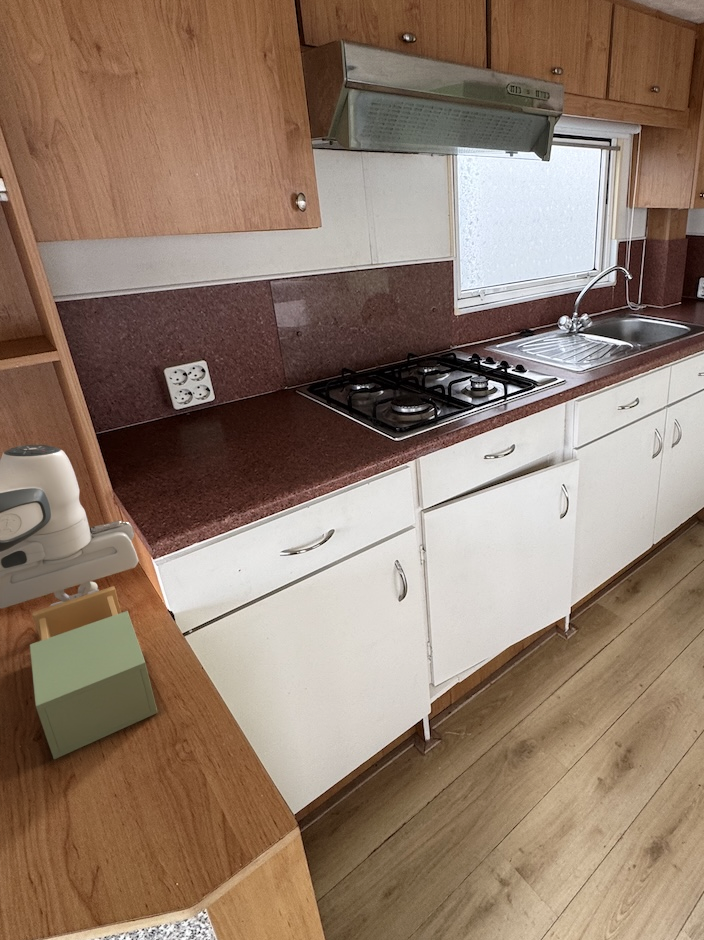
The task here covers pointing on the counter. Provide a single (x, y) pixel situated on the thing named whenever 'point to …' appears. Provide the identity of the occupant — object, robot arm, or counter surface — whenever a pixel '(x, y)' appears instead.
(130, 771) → the counter surface
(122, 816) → the counter surface
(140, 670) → the cabinet
